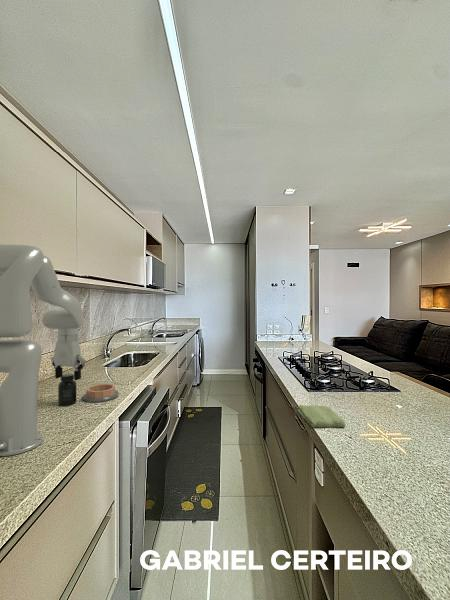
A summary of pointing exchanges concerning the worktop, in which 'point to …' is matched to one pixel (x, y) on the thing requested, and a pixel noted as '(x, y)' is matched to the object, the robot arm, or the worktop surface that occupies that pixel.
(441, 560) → the worktop surface
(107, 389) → the bottle holder
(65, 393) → the supplement bottle
